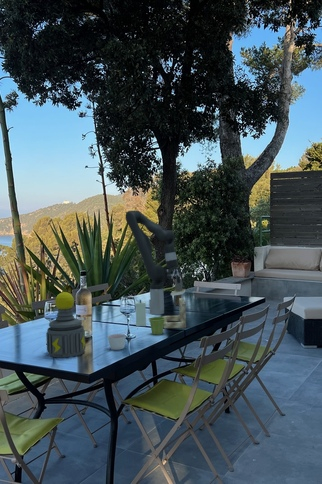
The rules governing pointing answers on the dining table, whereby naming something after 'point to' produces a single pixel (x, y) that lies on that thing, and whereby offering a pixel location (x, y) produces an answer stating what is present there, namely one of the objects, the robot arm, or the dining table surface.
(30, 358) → the dining table surface
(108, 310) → the dining table surface
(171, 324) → the beige l-shaped stand
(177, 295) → the architectural model
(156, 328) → the plant pot
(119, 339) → the candle
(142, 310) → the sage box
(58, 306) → the decorative lamp
